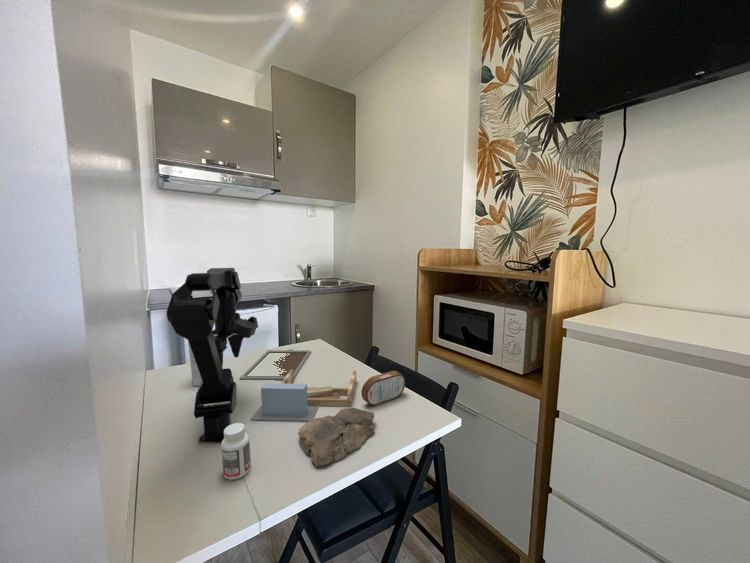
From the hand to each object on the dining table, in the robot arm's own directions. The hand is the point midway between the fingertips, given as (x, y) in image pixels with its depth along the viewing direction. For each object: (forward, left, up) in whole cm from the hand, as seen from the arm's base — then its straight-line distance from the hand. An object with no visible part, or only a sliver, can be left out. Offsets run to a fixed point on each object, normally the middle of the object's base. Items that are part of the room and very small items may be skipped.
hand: (228, 363), depth 89 cm
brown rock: (-14, -35, -14) cm, 40 cm away
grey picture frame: (+31, -4, -14) cm, 34 cm away
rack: (+8, -24, -13) cm, 29 cm away
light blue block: (-4, -18, -13) cm, 22 cm away
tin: (+4, -46, -13) cm, 48 cm away
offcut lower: (+3, -25, -14) cm, 29 cm away
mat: (-4, -18, -13) cm, 23 cm away
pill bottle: (-26, -15, -13) cm, 33 cm away
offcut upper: (+4, -25, -12) cm, 28 cm away
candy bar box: (+16, +17, -13) cm, 27 cm away
